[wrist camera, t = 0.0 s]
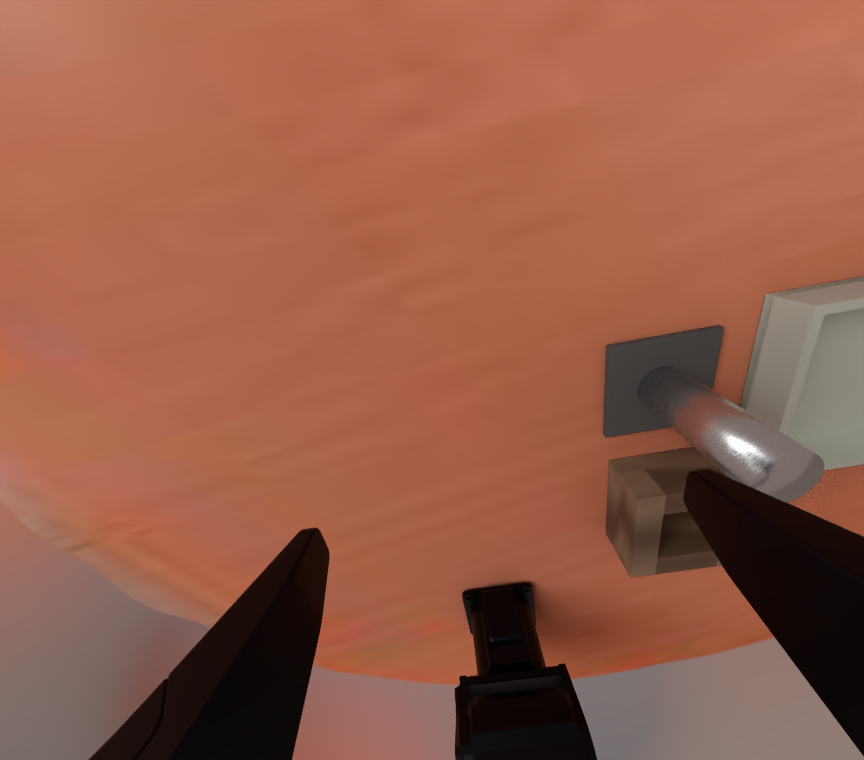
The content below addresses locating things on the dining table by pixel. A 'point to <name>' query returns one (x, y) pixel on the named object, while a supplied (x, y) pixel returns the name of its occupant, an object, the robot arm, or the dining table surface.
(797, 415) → the tray
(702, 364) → the mat
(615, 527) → the brown hollow block
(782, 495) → the pin
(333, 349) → the dining table surface
